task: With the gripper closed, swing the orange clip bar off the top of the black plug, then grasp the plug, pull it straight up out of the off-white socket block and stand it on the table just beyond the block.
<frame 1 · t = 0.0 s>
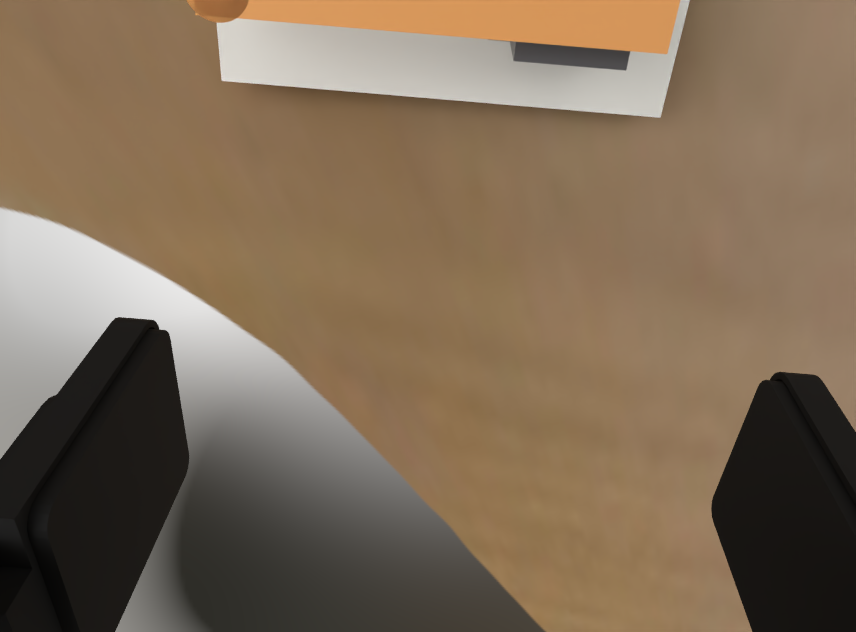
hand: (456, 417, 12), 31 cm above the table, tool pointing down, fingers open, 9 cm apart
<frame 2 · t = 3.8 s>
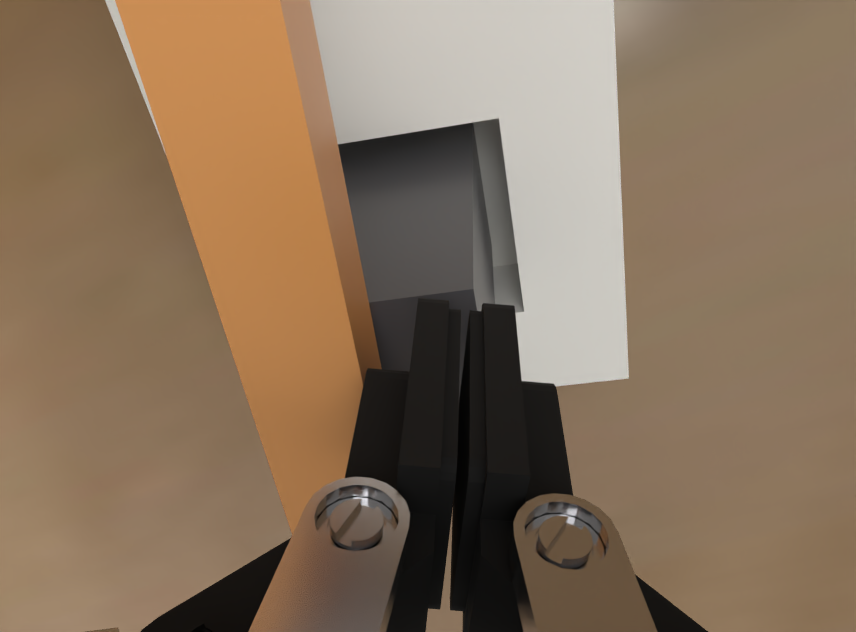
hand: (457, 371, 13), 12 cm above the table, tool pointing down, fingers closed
plug: (414, 194, 23), point 1 cm above the table, touching socket block
clip: (308, 93, 14), point 9 cm above the table, hinge at -3.5°, touching gripper
socket block: (384, 25, 21), on the table
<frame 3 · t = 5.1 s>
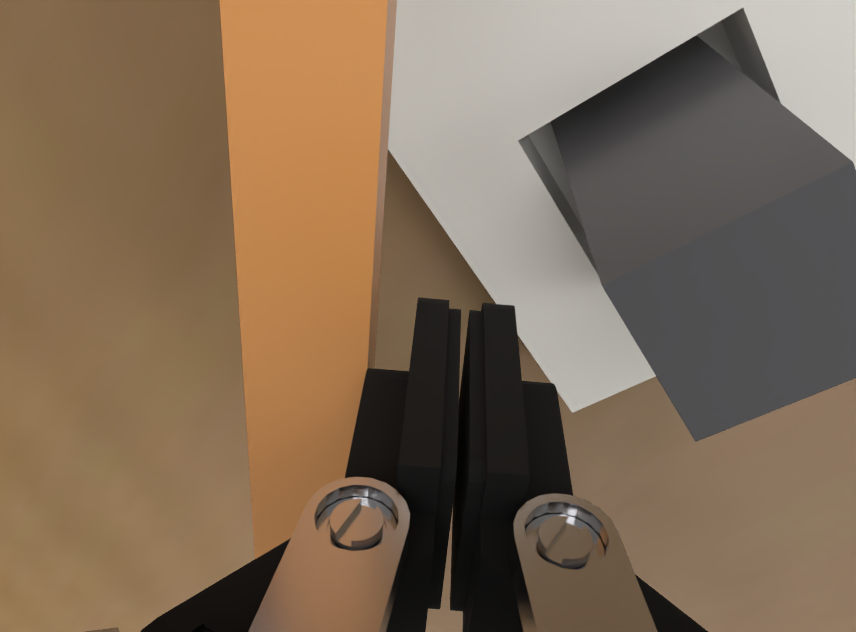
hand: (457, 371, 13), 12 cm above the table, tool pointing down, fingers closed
plug: (648, 137, 22), point 1 cm above the table, touching socket block
clip: (348, 87, 13), point 9 cm above the table, hinge at -38.3°, touching gripper
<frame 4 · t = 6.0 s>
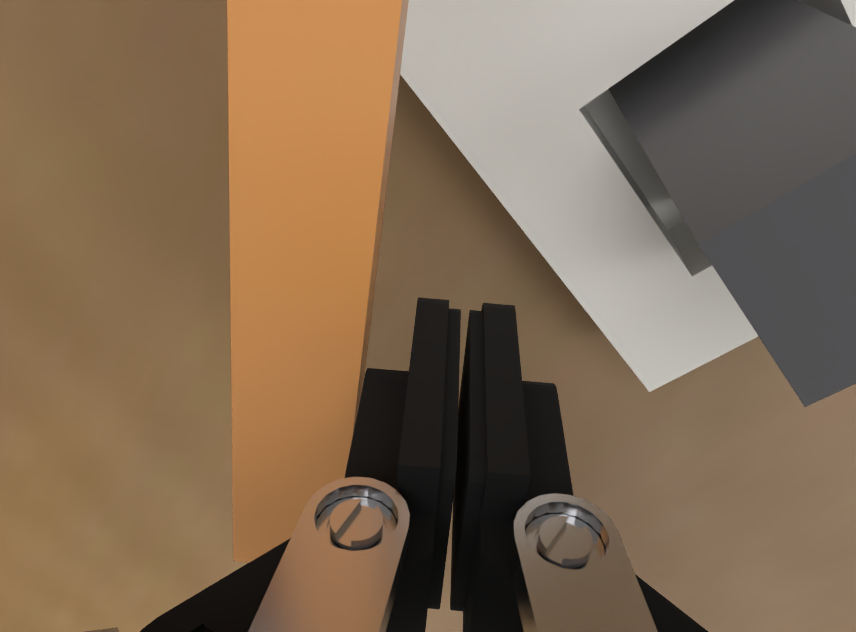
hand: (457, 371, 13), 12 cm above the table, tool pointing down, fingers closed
plug: (711, 96, 21), point 1 cm above the table, touching socket block
clip: (353, 54, 13), point 9 cm above the table, hinge at -46.4°, touching gripper
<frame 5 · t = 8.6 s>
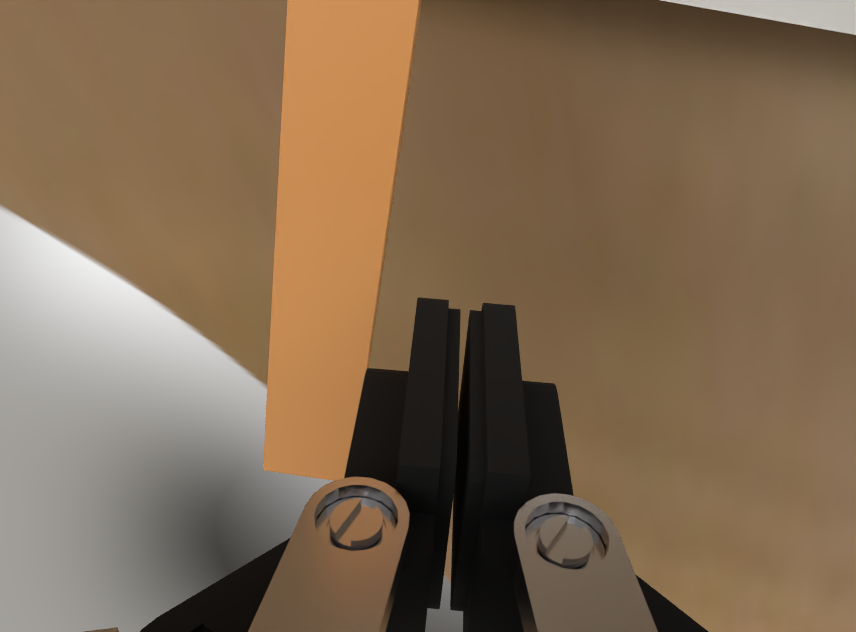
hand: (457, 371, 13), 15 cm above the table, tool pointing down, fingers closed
clip: (372, 47, 16), point 9 cm above the table, hinge at -90.4°
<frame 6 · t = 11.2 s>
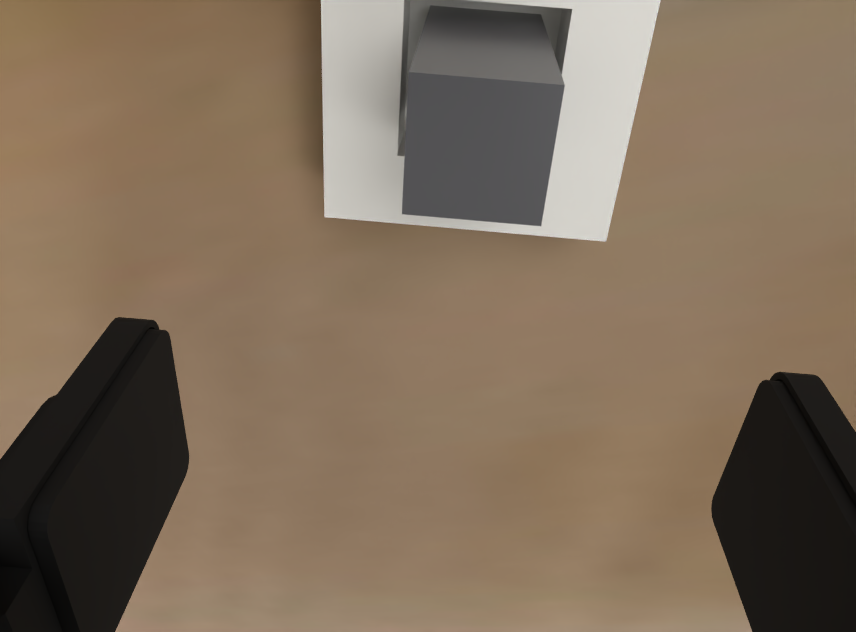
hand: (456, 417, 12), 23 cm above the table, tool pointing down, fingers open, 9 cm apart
plug: (479, 66, 30), point 1 cm above the table, touching socket block
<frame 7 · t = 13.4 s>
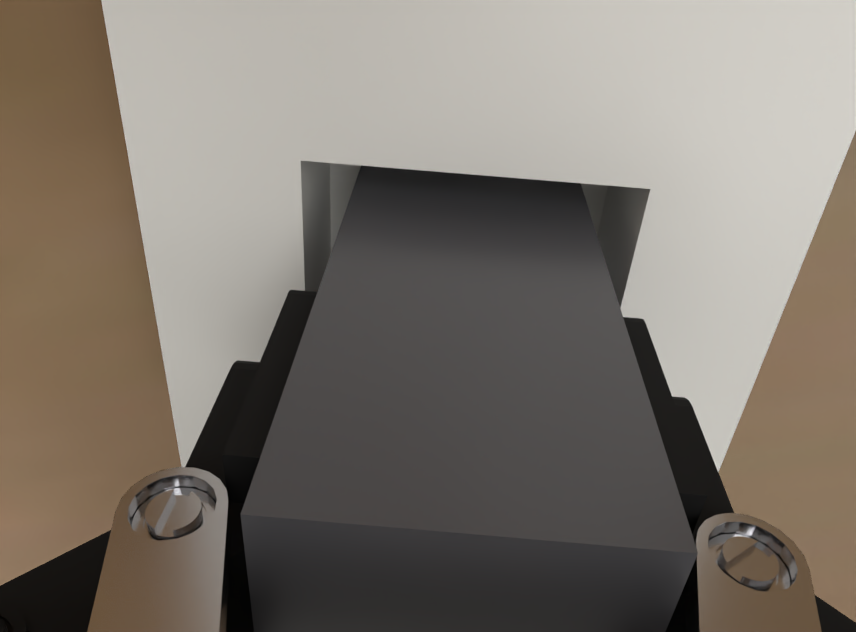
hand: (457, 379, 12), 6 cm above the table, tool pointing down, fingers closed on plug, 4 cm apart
plug: (461, 247, 16), point 1 cm above the table, touching gripper, socket block
socket block: (484, 5, 15), on the table
when the fingers open (6 cm above the table, at t = 20.1 s): plug drops 1 cm, on the table.
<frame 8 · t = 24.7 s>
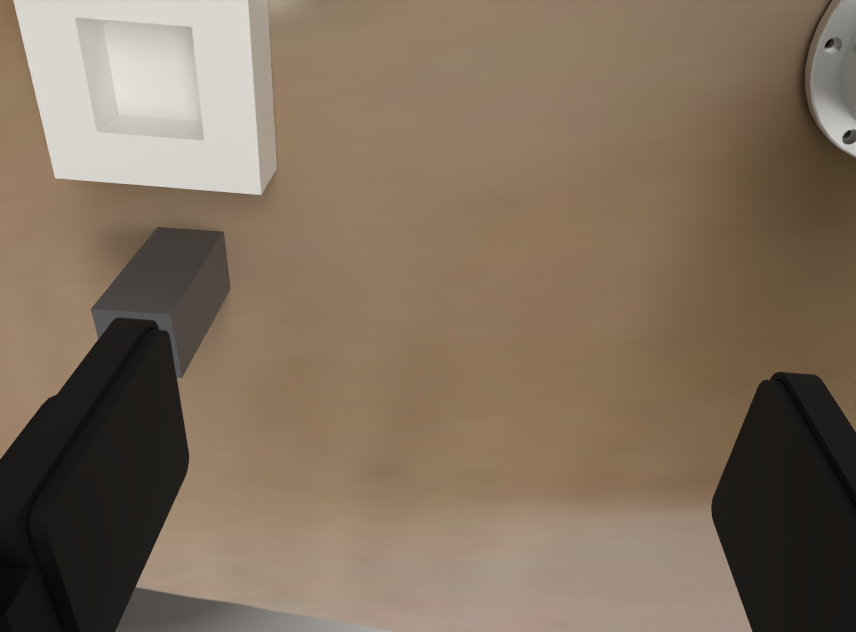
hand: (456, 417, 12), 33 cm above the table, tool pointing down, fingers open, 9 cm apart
plug: (194, 258, 49), on the table
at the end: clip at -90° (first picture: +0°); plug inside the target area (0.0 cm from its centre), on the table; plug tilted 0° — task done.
